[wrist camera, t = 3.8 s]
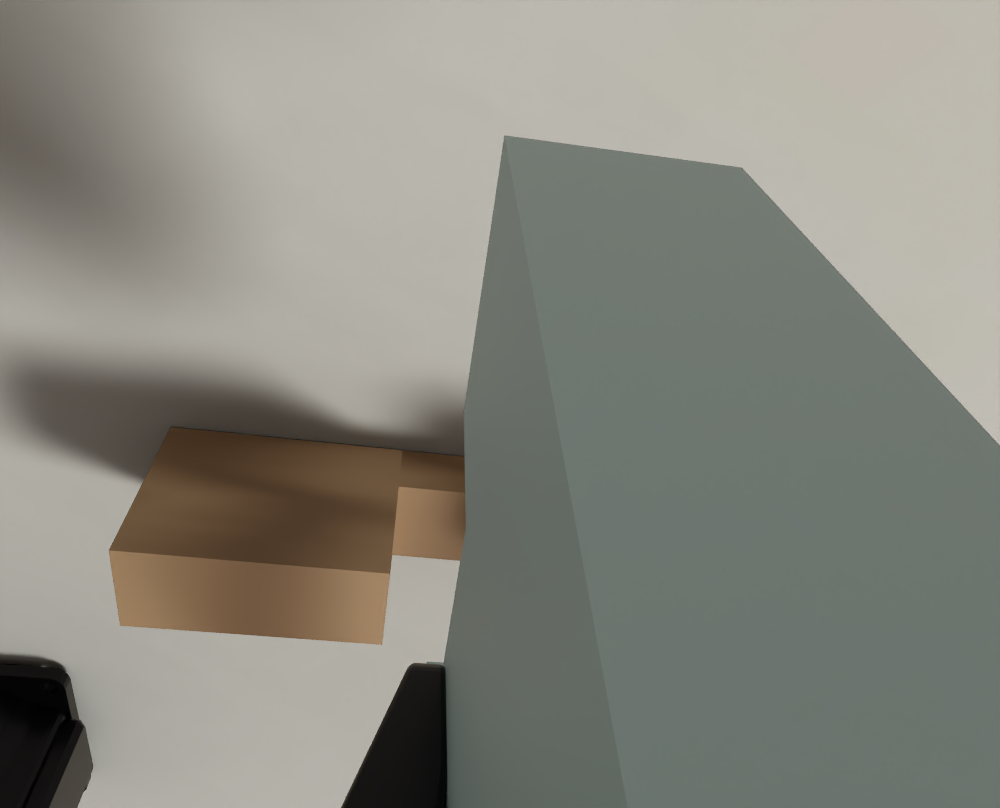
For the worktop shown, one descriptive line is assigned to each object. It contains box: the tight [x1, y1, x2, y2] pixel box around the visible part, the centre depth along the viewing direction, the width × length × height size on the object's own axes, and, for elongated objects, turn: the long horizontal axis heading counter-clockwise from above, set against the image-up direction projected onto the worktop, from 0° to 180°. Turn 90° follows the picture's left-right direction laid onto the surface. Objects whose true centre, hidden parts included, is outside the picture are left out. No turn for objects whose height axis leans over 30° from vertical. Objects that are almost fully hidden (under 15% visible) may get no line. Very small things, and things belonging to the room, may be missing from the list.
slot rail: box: [109, 427, 466, 645], centre depth 21 cm, size 16×2×4 cm, turn 81°
